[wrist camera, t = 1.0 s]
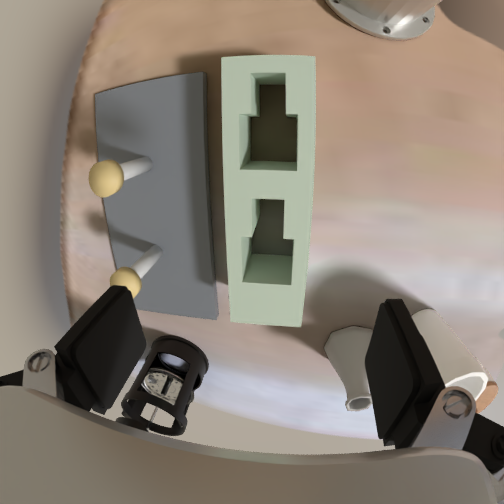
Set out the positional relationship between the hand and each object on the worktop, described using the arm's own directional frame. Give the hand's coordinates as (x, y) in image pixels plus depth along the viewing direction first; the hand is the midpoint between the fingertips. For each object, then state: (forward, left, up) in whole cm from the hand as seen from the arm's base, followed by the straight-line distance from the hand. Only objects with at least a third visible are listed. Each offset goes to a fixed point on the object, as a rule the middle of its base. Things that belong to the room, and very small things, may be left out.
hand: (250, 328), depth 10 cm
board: (+1, -14, -20) cm, 24 cm away
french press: (+25, -15, -20) cm, 35 cm away
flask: (+19, +10, -20) cm, 30 cm away
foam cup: (+16, +20, -20) cm, 33 cm away
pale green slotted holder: (-1, -1, -20) cm, 20 cm away
